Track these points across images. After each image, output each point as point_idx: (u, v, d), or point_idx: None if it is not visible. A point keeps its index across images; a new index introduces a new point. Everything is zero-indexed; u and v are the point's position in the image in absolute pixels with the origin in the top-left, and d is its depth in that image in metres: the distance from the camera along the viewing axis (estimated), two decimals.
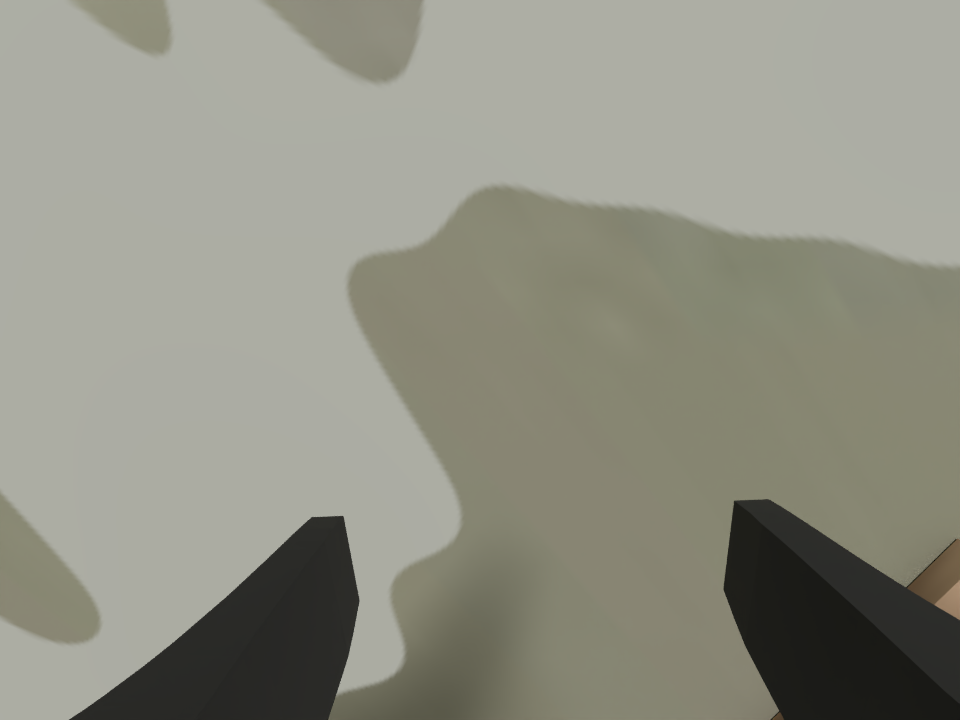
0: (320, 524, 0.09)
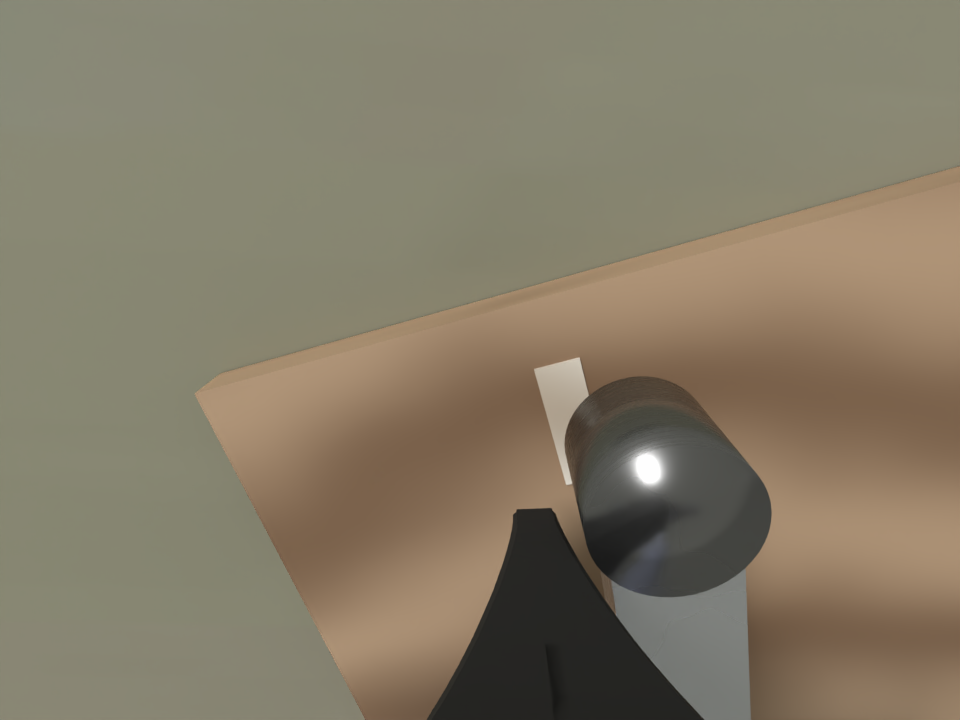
0: (537, 517, 0.09)
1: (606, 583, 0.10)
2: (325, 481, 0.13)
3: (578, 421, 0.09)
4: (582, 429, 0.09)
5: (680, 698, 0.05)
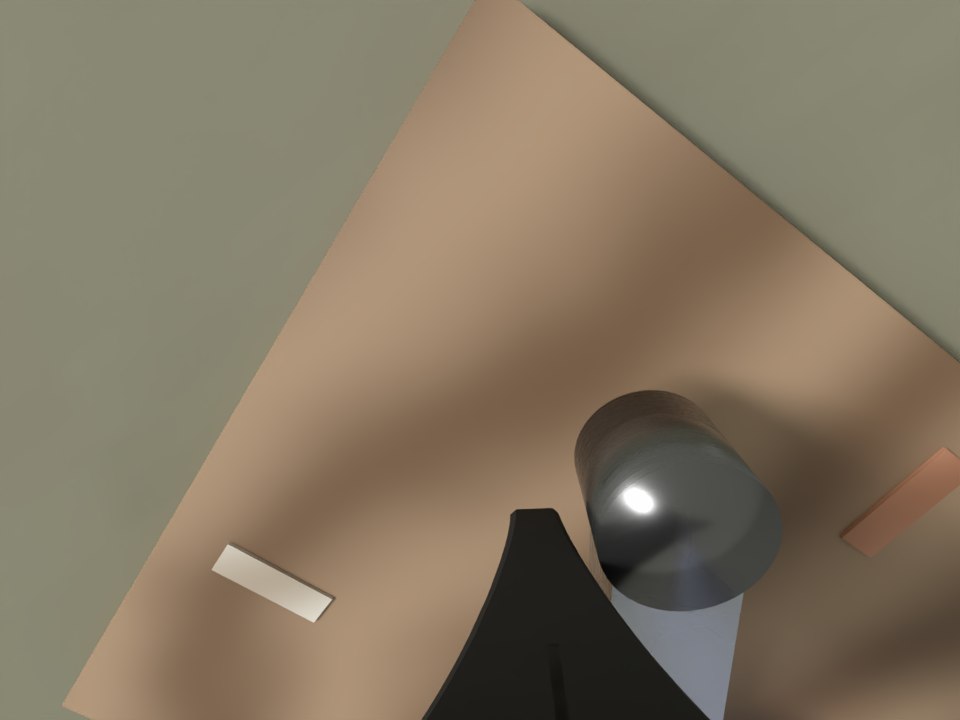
0: (534, 516, 0.09)
1: None
2: (179, 710, 0.16)
3: (595, 426, 0.09)
4: (600, 434, 0.09)
5: (686, 698, 0.05)
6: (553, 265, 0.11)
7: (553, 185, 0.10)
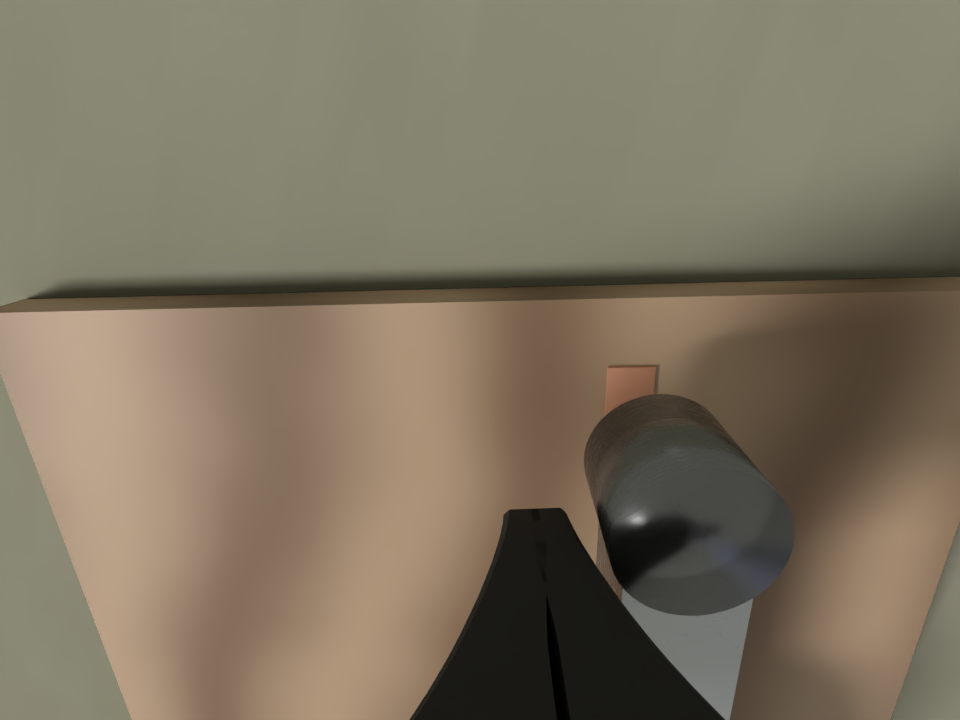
0: (527, 516, 0.09)
1: None
2: None
3: (606, 429, 0.09)
4: (611, 438, 0.09)
5: (700, 698, 0.05)
6: (189, 444, 0.13)
7: (136, 397, 0.12)
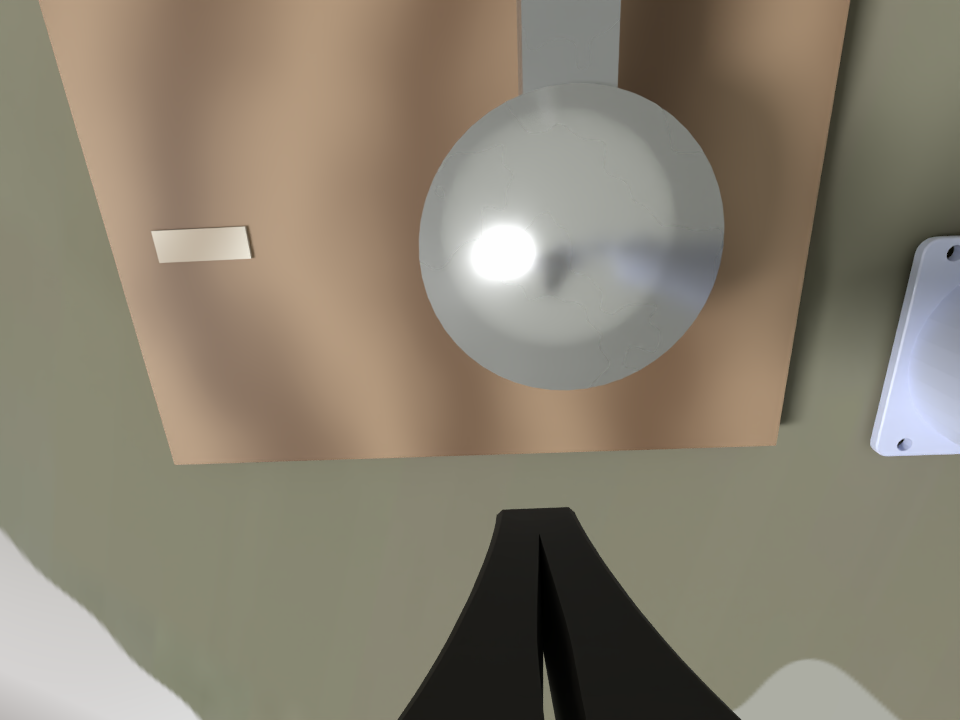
0: (520, 517, 0.09)
1: None
2: (240, 413, 0.19)
3: None
4: None
5: (715, 697, 0.05)
6: None
7: None
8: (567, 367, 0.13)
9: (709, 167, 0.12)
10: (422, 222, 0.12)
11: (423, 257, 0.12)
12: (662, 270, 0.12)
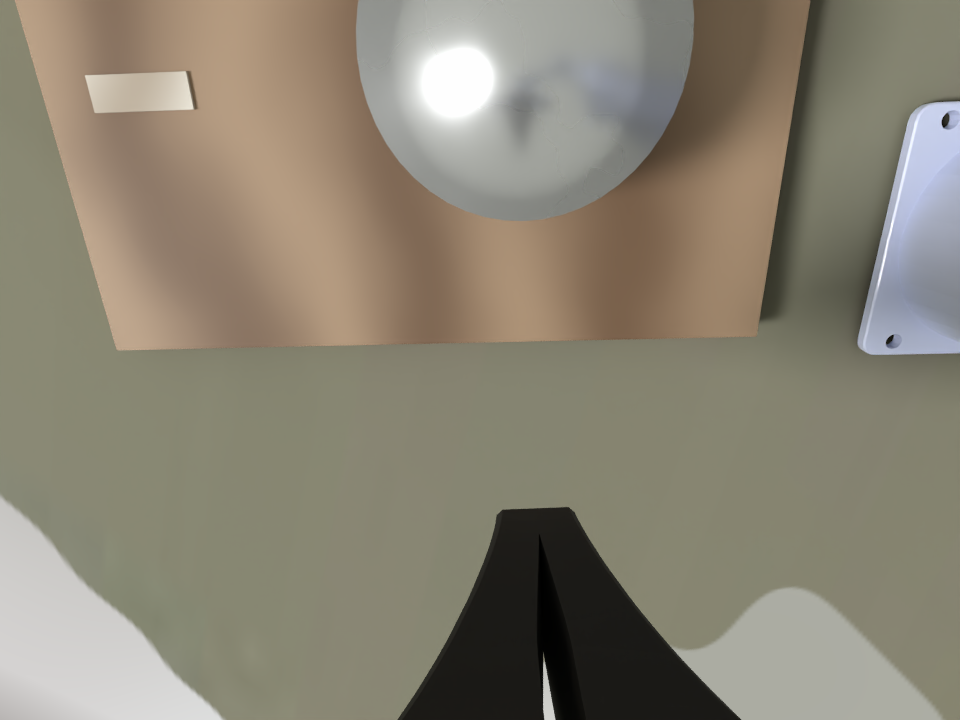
0: (520, 517, 0.09)
1: None
2: (186, 292, 0.18)
3: None
4: None
5: (715, 697, 0.05)
6: None
7: None
8: (522, 192, 0.12)
9: None
10: (359, 9, 0.11)
11: (361, 54, 0.11)
12: (625, 73, 0.11)
